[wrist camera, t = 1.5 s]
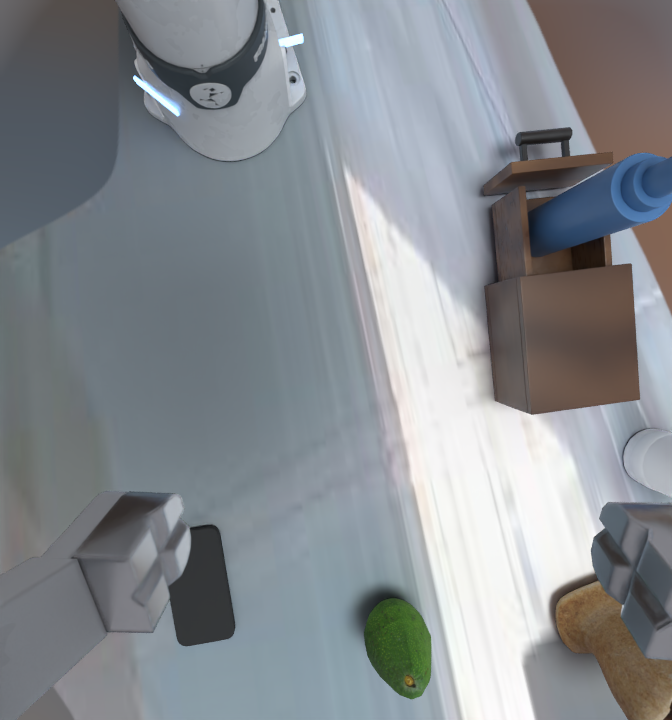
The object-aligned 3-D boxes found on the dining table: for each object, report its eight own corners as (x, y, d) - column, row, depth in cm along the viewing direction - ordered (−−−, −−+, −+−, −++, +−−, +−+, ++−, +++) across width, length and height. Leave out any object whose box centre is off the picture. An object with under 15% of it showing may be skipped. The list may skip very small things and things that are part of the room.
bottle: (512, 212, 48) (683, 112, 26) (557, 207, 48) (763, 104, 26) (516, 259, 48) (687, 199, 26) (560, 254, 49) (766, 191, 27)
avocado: (420, 583, 53) (452, 657, 41) (415, 639, 53) (445, 728, 41) (361, 582, 52) (376, 656, 40) (357, 638, 53) (370, 727, 41)
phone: (217, 526, 49) (236, 637, 50) (219, 523, 50) (237, 632, 51) (158, 536, 49) (178, 648, 50) (160, 532, 50) (180, 643, 51)
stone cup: (562, 664, 55) (657, 789, 40) (543, 587, 54) (632, 686, 39) (662, 630, 56) (792, 741, 41) (644, 554, 54) (771, 638, 40)
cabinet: (484, 286, 50) (519, 276, 42) (577, 274, 51) (631, 263, 42) (494, 401, 51) (531, 414, 43) (586, 388, 52) (640, 399, 44)
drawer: (479, 150, 48) (507, 121, 41) (568, 141, 49) (610, 111, 42) (493, 298, 50) (522, 293, 43) (579, 288, 50) (621, 281, 43)
